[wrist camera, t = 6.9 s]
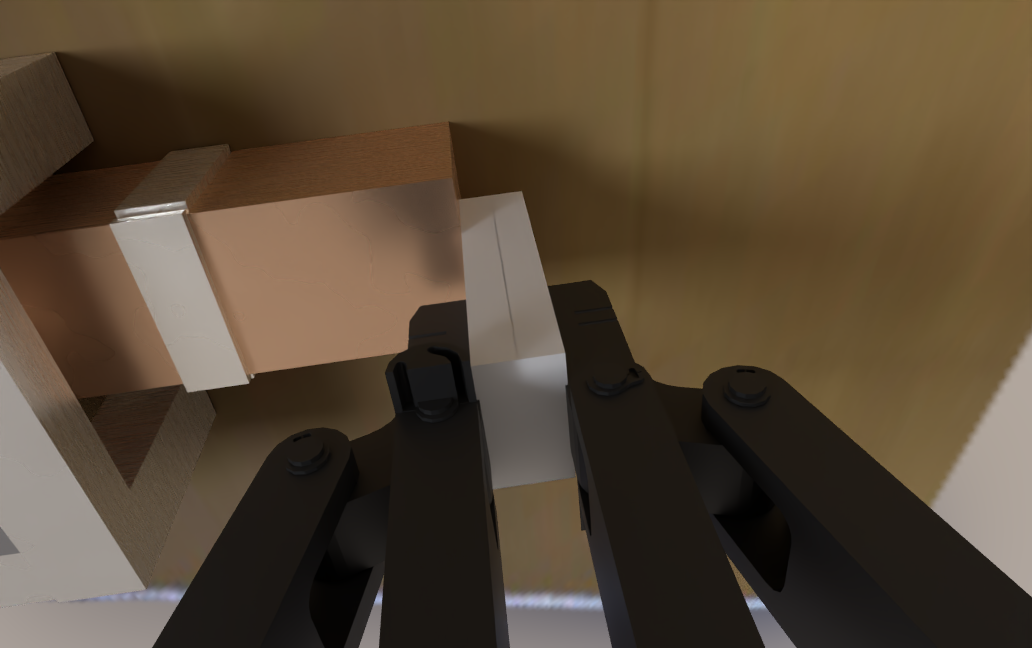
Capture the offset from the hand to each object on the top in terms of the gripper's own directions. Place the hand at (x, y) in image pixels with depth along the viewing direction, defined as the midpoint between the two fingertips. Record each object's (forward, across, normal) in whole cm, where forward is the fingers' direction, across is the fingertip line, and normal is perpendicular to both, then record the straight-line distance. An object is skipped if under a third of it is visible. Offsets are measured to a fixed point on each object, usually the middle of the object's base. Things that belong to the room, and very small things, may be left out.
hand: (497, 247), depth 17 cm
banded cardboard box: (+2, -7, +1) cm, 7 cm away
